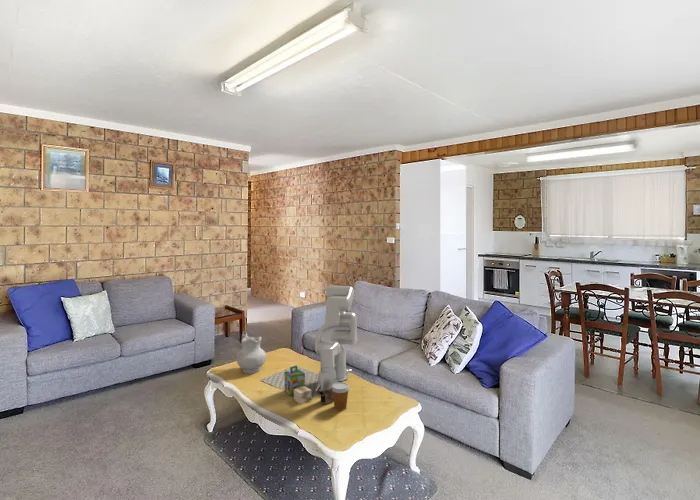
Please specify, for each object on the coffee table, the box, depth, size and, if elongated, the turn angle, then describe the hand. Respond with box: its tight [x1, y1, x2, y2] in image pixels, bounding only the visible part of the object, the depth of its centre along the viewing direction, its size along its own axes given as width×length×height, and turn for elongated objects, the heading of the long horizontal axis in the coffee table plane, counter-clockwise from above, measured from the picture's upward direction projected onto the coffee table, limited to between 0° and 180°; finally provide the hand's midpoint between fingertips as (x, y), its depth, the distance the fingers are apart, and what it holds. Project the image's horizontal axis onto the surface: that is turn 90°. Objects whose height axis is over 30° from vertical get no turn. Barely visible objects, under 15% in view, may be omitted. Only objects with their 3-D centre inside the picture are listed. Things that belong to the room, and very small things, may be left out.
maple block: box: [293, 385, 312, 405], centre depth 213 cm, size 7×7×6 cm
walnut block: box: [322, 389, 334, 405], centre depth 212 cm, size 6×6×6 cm
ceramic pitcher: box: [236, 331, 267, 375], centre depth 257 cm, size 22×20×25 cm
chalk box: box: [284, 365, 306, 397], centre depth 224 cm, size 9×9×15 cm
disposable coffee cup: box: [331, 381, 350, 411], centre depth 204 cm, size 10×10×12 cm
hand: (327, 400), depth 212 cm, fingers closed on walnut block, 5 cm apart
